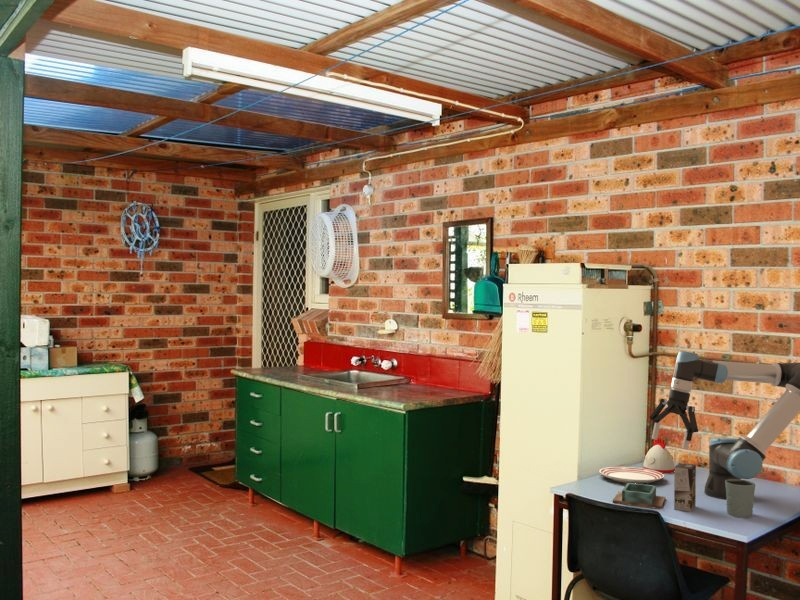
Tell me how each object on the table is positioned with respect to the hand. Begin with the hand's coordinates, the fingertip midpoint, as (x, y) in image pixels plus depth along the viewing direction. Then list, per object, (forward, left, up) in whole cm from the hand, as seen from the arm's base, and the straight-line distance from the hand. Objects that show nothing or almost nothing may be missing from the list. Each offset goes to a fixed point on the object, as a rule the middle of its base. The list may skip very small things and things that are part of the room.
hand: (669, 443), depth 288 cm
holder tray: (+11, +2, -23) cm, 25 cm away
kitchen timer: (+10, -58, -23) cm, 63 cm away
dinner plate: (+19, -34, -24) cm, 45 cm away
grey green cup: (-25, +4, -23) cm, 35 cm away
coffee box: (-6, +4, -23) cm, 24 cm away
